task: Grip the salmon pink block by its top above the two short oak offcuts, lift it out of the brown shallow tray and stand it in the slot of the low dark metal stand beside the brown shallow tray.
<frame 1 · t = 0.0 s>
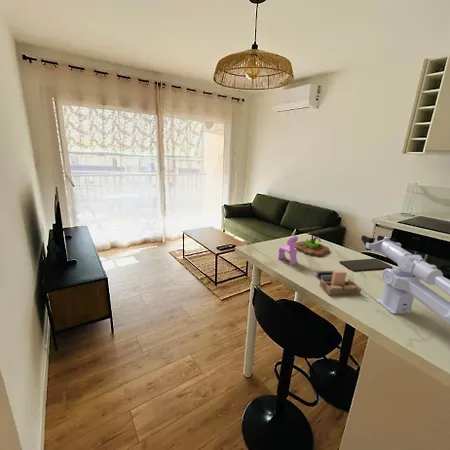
hand: (370, 237, 111), 22 cm above the breakfast bar, tool horizontal, fingers open, 7 cm apart
brown shallow tray: (339, 290, 108), on the breakfast bar
toy chair: (287, 261, 137), on the breakfast bar
plant: (310, 250, 155), on the breakfast bar
dark rectangular slab: (364, 266, 135), on the breakfast bar
salmon pink block: (336, 288, 110), resting in brown shallow tray
offcut a: (347, 292, 107), resting in brown shallow tray
stand: (327, 278, 118), on the breakfast bar
offcut b: (334, 292, 107), resting in brown shallow tray
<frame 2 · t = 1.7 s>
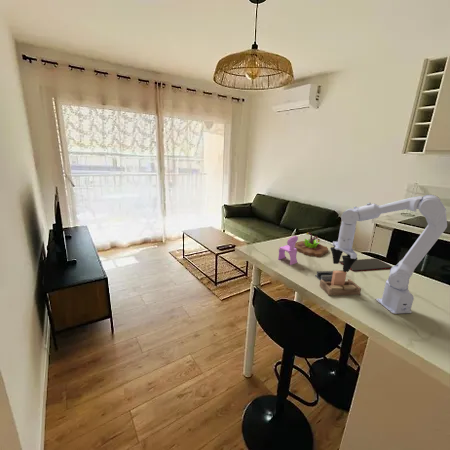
hand: (340, 267, 108), 10 cm above the breakfast bar, tool pointing down, fingers open, 7 cm apart
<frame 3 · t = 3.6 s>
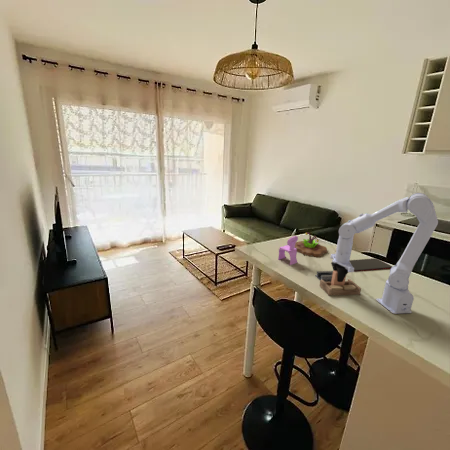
hand: (338, 279, 109), 4 cm above the breakfast bar, tool pointing down, fingers closed on salmon pink block, 2 cm apart
salmon pink block: (336, 287, 110), resting in brown shallow tray, touching gripper
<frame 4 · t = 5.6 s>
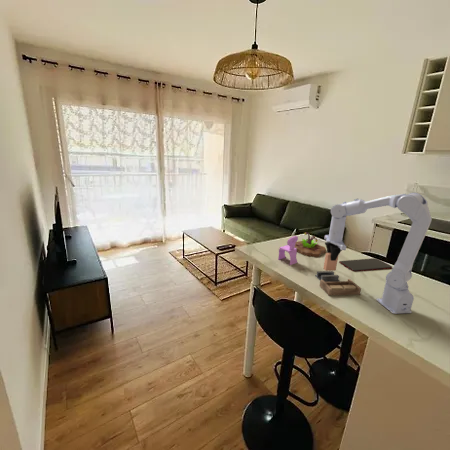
hand: (331, 259, 114), 10 cm above the breakfast bar, tool pointing down, fingers closed on salmon pink block
salmon pink block: (329, 269, 116), point 5 cm above the breakfast bar, touching gripper
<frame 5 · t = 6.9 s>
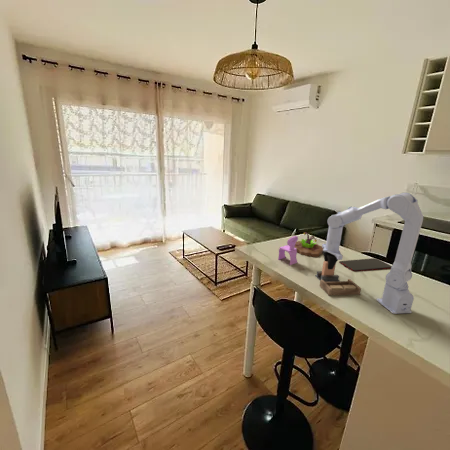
hand: (328, 267, 117), 6 cm above the breakfast bar, tool pointing down, fingers closed on salmon pink block, 2 cm apart
salmon pink block: (327, 277, 118), resting on stand, touching gripper
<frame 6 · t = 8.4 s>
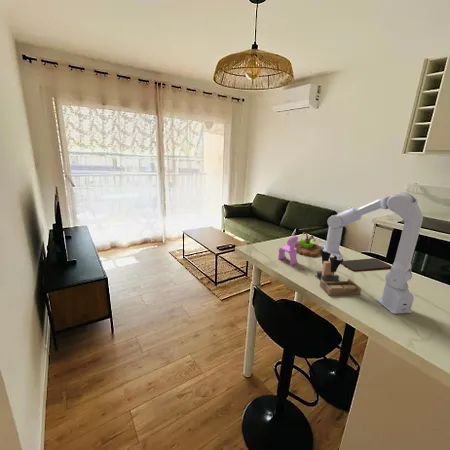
hand: (328, 268, 117), 5 cm above the breakfast bar, tool pointing down, fingers open, 7 cm apart
salmon pink block: (327, 277, 118), resting on stand
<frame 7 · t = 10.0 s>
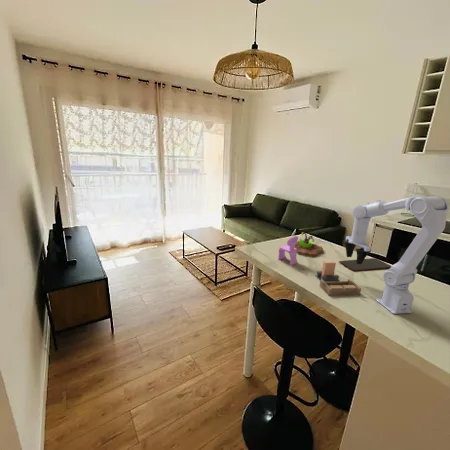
hand: (353, 260, 114), 10 cm above the breakfast bar, tool pointing down, fingers open, 7 cm apart
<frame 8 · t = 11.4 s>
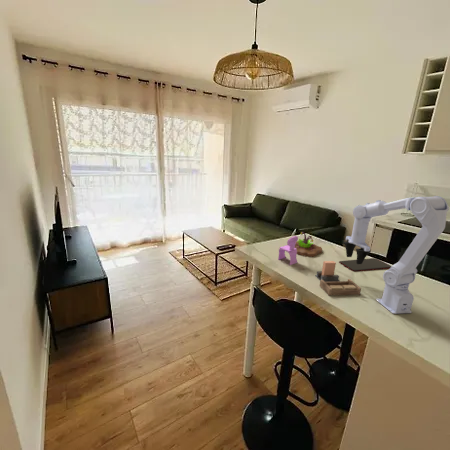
hand: (353, 260, 114), 10 cm above the breakfast bar, tool pointing down, fingers open, 7 cm apart
at the end: salmon pink block 0.0 cm off-centre on the stand, point 0.5 cm above the stand's base; salmon pink block tilted 0°; offcut a moved 0.2 cm from its start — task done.
